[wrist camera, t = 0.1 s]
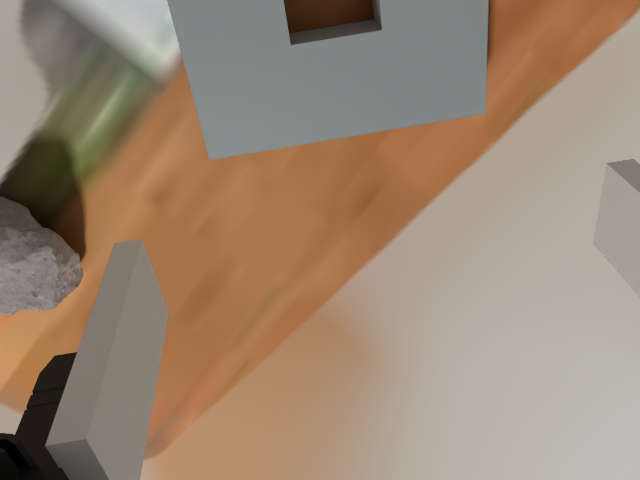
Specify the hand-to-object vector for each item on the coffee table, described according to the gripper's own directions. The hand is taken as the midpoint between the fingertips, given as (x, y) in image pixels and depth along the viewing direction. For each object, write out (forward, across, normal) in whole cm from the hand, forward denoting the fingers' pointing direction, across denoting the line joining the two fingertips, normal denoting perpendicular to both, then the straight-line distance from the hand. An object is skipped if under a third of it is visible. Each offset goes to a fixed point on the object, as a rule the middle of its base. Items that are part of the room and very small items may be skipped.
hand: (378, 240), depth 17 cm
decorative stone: (+28, -27, -13) cm, 41 cm away
